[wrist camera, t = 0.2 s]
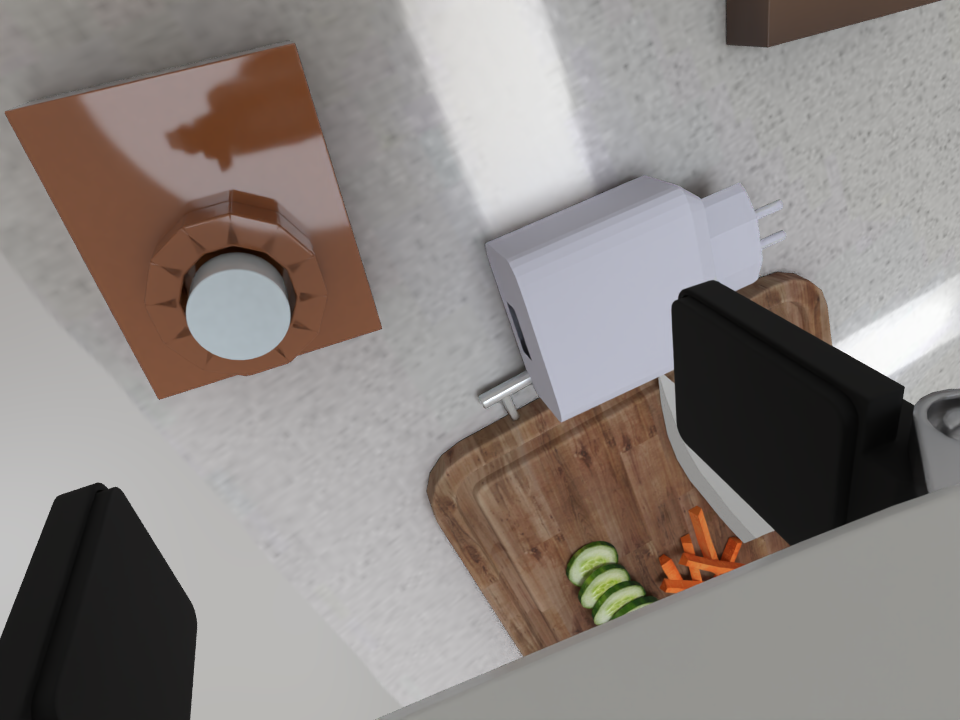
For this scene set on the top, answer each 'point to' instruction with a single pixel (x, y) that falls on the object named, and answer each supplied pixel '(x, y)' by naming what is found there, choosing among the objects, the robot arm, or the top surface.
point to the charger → (618, 283)
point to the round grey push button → (238, 306)
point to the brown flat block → (801, 18)
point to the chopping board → (599, 500)
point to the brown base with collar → (201, 202)
